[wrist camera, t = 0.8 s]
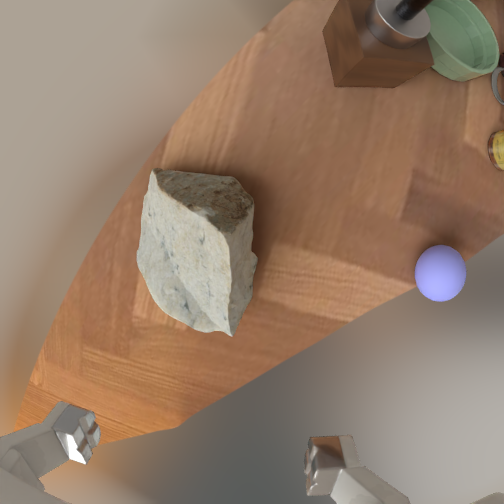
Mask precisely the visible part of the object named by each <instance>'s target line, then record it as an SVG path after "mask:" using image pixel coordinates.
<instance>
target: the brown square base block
mask: <svg viewBox="0 0 504 504" xmlns="http://www.w3.org/2000/svg"><path fill="white" fill-rule="evenodd" d="M372 1H373V0H339V1H338V2H337V4H336V6H335V8H334V10H333V12H332V14H331V16H330V18H329V19H328V21H327V23H326V25H325V27H324V29H323V31H322V32H323V36H324V40H325V44H326V48H327V52H328V57H329V61H330V65H331V70H332V75H333V80H334V85H335V87H385V88H394V87H396V86H398V85H400V84H401V83H403V82H405V81H406V80H408V79H410V78H412V77H413V76H415V75H417V74H419V73H420V72H422V71H424V70H426V69H427V68H429V67H431V66H433V65H435V63H434V60H433V56H432V53H431V49H430V46H429V43H428V40H427V37H426V36H425V37H424V38H422V39H421V40H420V41H418V42H417V43H416V44H414V45H413V46H411V47H410V48H407V49H397V48H393V47H390V46H388V45H386V44H384V43H383V42H381V41H380V40H379V39H377V38H376V37H375V36H374V35H373V34H372V32H371V31H370V29H369V28H368V26H367V24H366V20H365V12H366V9H367V8H368V6H369V5H370V4H371V2H372Z"/></svg>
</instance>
